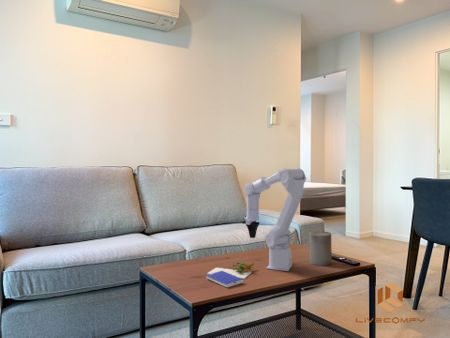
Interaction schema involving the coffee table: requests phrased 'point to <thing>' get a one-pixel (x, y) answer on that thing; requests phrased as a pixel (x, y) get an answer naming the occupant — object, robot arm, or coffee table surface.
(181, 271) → the coffee table surface
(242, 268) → the figurine
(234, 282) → the hard drive
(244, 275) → the cream mat
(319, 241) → the pillar candle
